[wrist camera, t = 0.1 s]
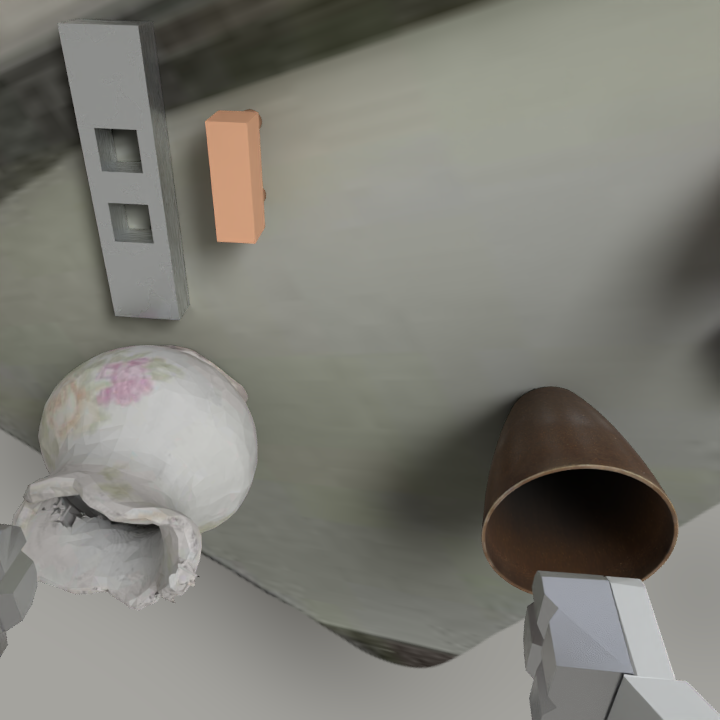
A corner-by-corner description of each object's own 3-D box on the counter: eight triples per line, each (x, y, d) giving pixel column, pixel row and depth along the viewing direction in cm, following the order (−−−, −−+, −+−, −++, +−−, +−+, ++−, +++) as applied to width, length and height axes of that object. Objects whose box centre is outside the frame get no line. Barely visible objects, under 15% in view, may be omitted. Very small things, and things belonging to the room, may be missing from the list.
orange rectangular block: (230, 100, 54) (205, 121, 48) (268, 102, 53) (247, 123, 47) (239, 210, 58) (217, 241, 52) (273, 212, 58) (255, 243, 52)
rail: (75, 18, 51) (57, 23, 49) (152, 21, 51) (138, 25, 48) (127, 301, 64) (115, 315, 62) (189, 304, 64) (179, 320, 61)
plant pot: (629, 342, 61) (683, 456, 48) (629, 467, 69) (675, 596, 55) (463, 362, 64) (471, 475, 51) (481, 480, 72) (491, 606, 58)
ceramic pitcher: (172, 489, 78) (95, 702, 58) (29, 384, 70) (-119, 589, 50) (309, 398, 70) (275, 611, 49) (165, 266, 62) (52, 457, 41)
